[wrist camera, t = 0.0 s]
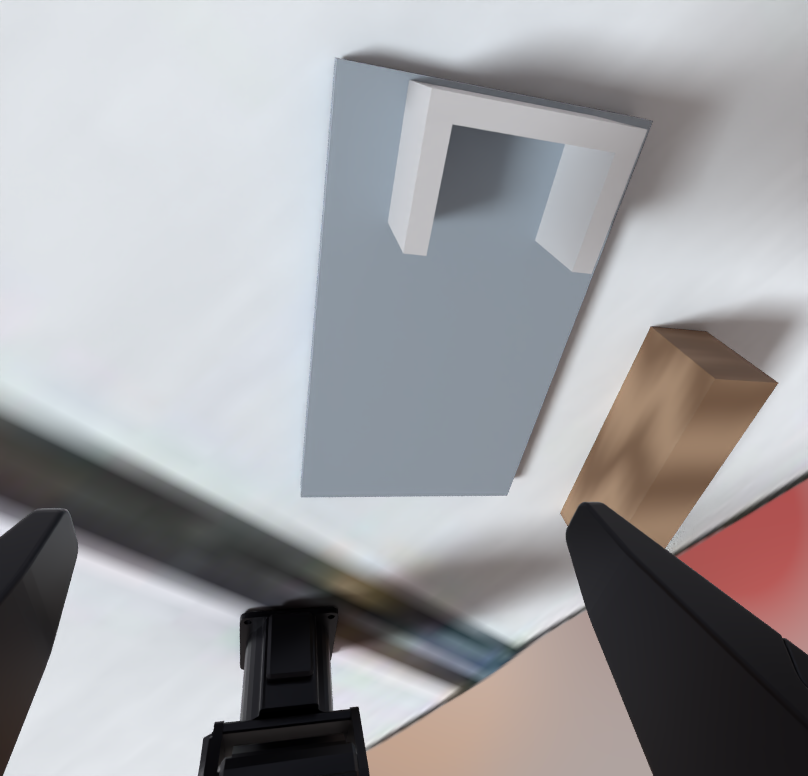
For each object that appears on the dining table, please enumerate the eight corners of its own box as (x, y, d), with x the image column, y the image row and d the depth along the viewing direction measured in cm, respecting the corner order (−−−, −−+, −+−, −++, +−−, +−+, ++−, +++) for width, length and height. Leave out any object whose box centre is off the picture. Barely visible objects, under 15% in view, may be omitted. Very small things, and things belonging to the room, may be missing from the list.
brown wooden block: (605, 512, 35) (646, 575, 31) (560, 513, 34) (596, 577, 30) (706, 331, 27) (778, 382, 23) (650, 326, 26) (715, 378, 22)
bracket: (501, 483, 31) (528, 543, 27) (300, 483, 28) (301, 550, 24) (638, 117, 20) (714, 135, 16) (335, 57, 17) (345, 62, 14)
